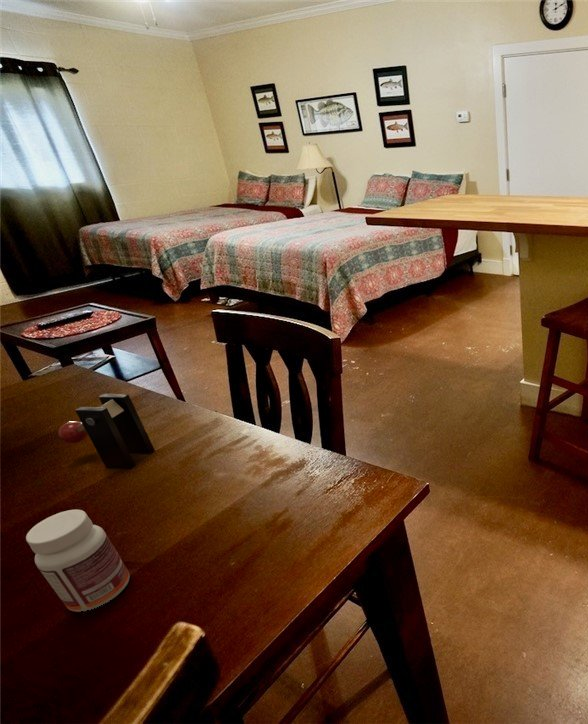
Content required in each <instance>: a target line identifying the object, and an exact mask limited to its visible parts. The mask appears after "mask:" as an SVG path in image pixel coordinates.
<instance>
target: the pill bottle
mask: <svg viewBox="0 0 588 724" xmlns="http://www.w3.org/2000/svg"><path fill="white" fill-rule="evenodd" d="M25 541H26V543H27V544H28V545H29V546H30V549H31V550H32V552H33V553H34V554H35V555H34V563H35V566H36V568H37V569H38V570H39V571H40V573H41V575H42V576H43V577H44V578H45V579H46V581H47V583H48V584H49V585H50V587H51V588H52V589H53V591H54V592H55V594H56V595H57V596H58V598H59V599H60V600H61V602H62V603H63V605H64V606H65V607H66V608H67V609H68V610H69V611H71V612H75V613H82V612H81V611H83V612H88V611H87V610H89V611H92V610H95V609H98V608H100V607H102V606H104V605H106V604H107V603H109V602H110V600H111V601H112V600H113V599H115V598H117V596H118V595H120V593H122V592H123V591H124V589H125V588H126V587H127V586H128V583H129V582H130V578H131V575H130V571H129V570H128V568H127V566H126V565H125V563H124V561H123V560H122V558H121V556H120V555H119V553H118V551H117V549H116V547H115V546H114V544H113V543H112V542H111V540H110V539H109V537H108V534H106V532H105V530H104V529H103V528H102V527H101V526H99V525H96V524H93V522H92V520H91V518H90V517H89V516H88V514H87V513H86V512H85V511H84V510H82V509H69V510H65V511H60V512H58V513H56V514H53V515H51V516H48V517H46V518H45V519H43V520H41V521H40V522H38V523H36V524H35V525H34V526H33V527H32V528H31V529H29V531H27V534H26V536H25ZM105 603H106V604H105ZM103 604H104V605H103ZM101 605H102V606H101ZM99 606H100V607H99ZM97 607H98V608H97ZM94 608H95V609H94ZM91 609H92V610H91Z"/></svg>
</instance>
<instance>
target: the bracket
mask: <svg viewBox="0 0 588 724" xmlns="http://www.w3.org/2000/svg"><path fill="white" fill-rule="evenodd" d="M98 399H99V401H100V403H101V406H102V405H103V404H105V403H107V402H108V401H110V400H112V399H113V400H114V401H115V402H116V403H117V404H118V405H119V406H120V407H121V408H122V409H123V410H124V411H123V412H121V413H119V414H118V415H116V416H115V417H113V418H112V417H111V415H110V413H109V411H108V409H107V408H98V407H99V406H98V407H95V406H92V407H91V406H80V407H78V408H76V409H75V410H74V411H75V413H76V415H77V417H78V419H79V421H80V422H82V424H83V426H84V428H85V430H86V432H87V433H88V437H89V439H90V441H91V443H92V444H93V446H94V448H95V450H96V452H97V454H98V456H99V457H100V459H101V461H102V463H103V464H104V467H105V468H106V469H113V470H132V469H133V468H134V467H136V466H137V464H136V462H135V461H134V460H133V459H134V458H133V457H132V455H131V454H138V455H152V454H153V453H154V452H155V451H156V450H155V448H154V446H153V443H152V440H151V439H150V437H149V435H148V433H147V431H146V429H145V426H144V425H143V421H142V420H141V418H140V416H139V414H138V411H137V409H136V408H135V405H134V403H133V401H132V399H131V396H130V395H129V394H122V393H121V394H120V393H119V394H118V393H117V394H116V393H103V394H100V395H99V396H98Z"/></svg>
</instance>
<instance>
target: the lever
mask: <svg viewBox="0 0 588 724" xmlns="http://www.w3.org/2000/svg"><path fill="white" fill-rule="evenodd" d="M98 408H107V409H108V411H109V413H110V415H111V417H112V418H113V417H115V416H116V415H118V414H119V413H121V412H123V411H124V410H123V409H122V408H121V407H120V406H119V405H118V404H117V403H116V402H115V401H114V400H113V399H112V400H110V401H108V402H107V403H105V404H103V405H102V404H101V405H100V406H98ZM57 434H58V437H59V439H60V440H61V441H63V443H67V444H78V443H80V442H82V441H84V440H85V439H86V438H87V437H89V435H88V433H87V432H86V430H85V428H84V426H83V424H82V422H81V421H75V420H73V421H68V422H66V423H63V425H61V426H60V428H59V429H58V433H57Z"/></svg>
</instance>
